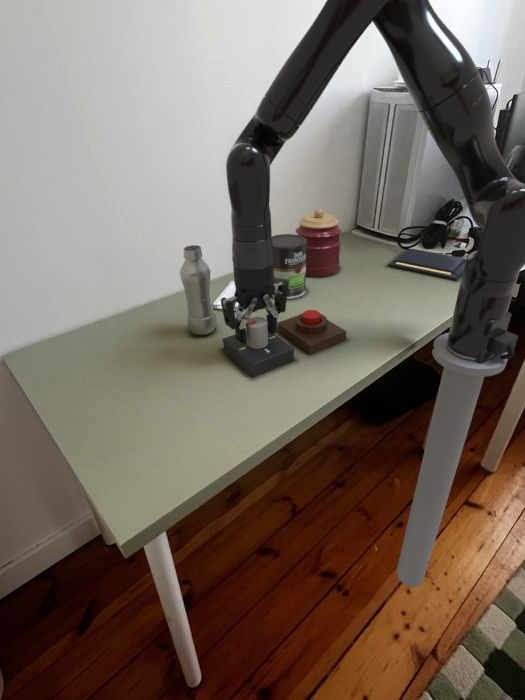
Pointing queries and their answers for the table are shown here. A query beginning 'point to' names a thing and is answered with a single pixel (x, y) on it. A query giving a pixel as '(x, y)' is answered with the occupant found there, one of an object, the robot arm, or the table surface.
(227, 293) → the phone case
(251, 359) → the dial console
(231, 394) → the table surface
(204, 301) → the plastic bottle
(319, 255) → the kitchen canister
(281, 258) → the coffee can
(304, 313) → the power button
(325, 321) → the power button base
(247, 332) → the brew dial
